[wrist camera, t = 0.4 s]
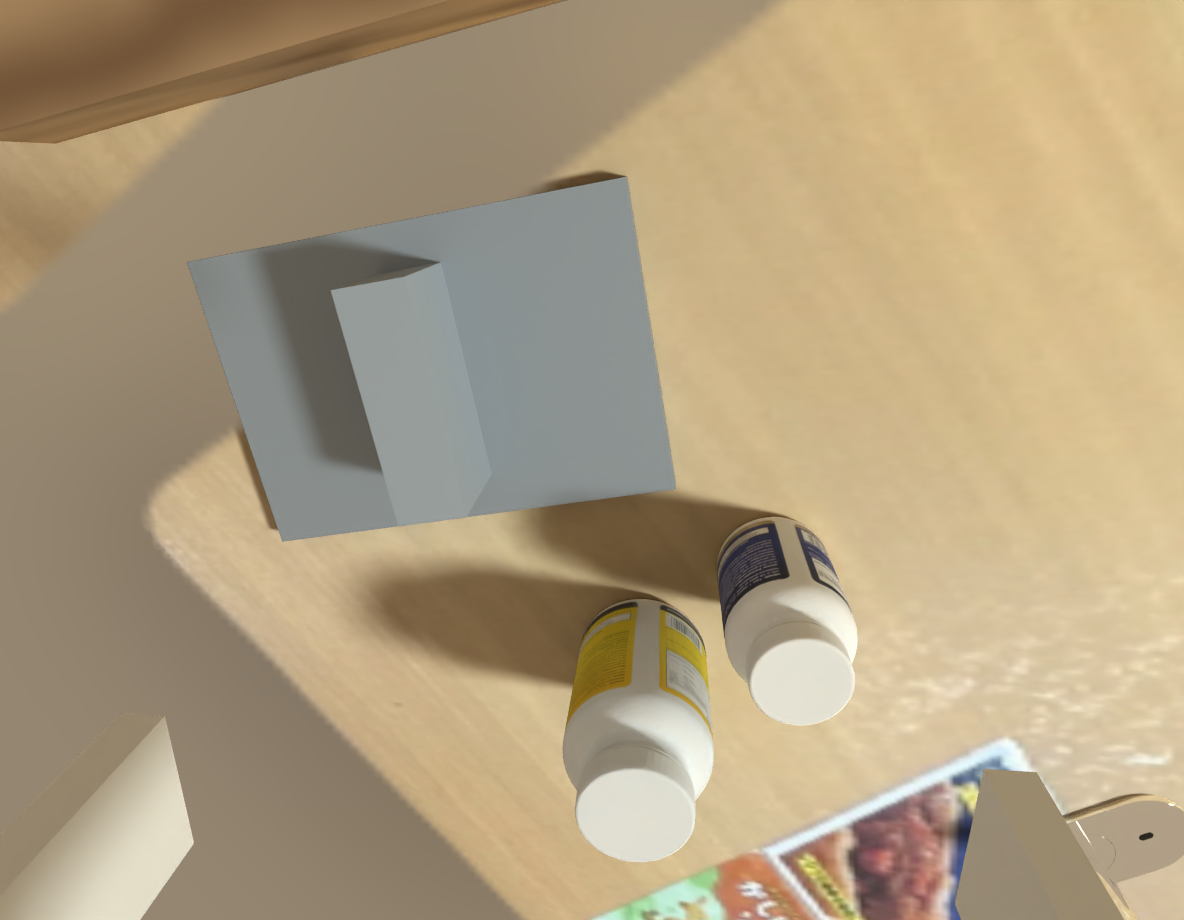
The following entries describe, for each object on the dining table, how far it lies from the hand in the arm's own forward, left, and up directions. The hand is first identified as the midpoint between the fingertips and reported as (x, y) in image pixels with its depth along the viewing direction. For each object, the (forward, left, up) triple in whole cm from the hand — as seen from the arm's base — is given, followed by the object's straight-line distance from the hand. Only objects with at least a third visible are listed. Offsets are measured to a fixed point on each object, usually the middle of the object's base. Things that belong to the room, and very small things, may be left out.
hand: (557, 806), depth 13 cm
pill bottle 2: (+10, +5, -26) cm, 28 cm away
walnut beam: (-18, -12, -26) cm, 34 cm away
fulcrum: (-2, -9, -26) cm, 27 cm away
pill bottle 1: (+14, -2, -26) cm, 29 cm away
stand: (+29, +21, -26) cm, 44 cm away
